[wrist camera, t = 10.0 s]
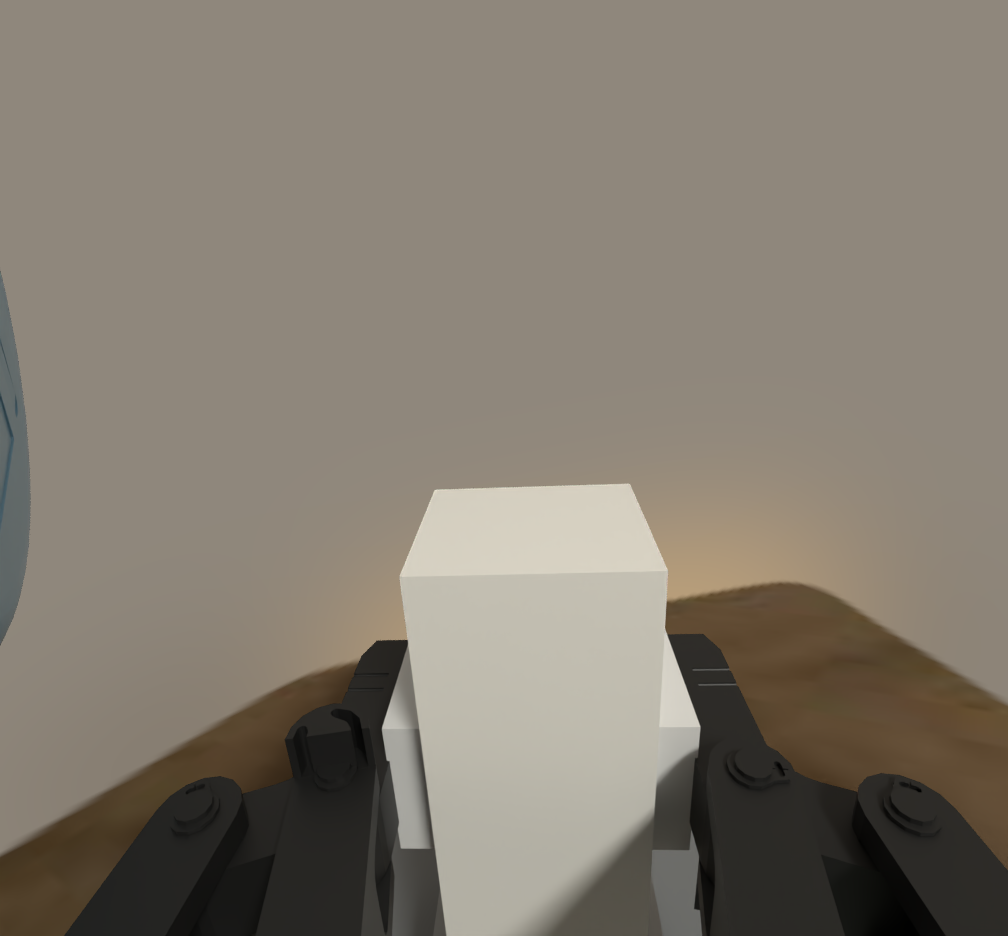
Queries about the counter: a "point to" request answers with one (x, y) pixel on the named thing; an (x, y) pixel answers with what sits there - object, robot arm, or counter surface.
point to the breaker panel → (422, 888)
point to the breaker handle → (539, 706)
